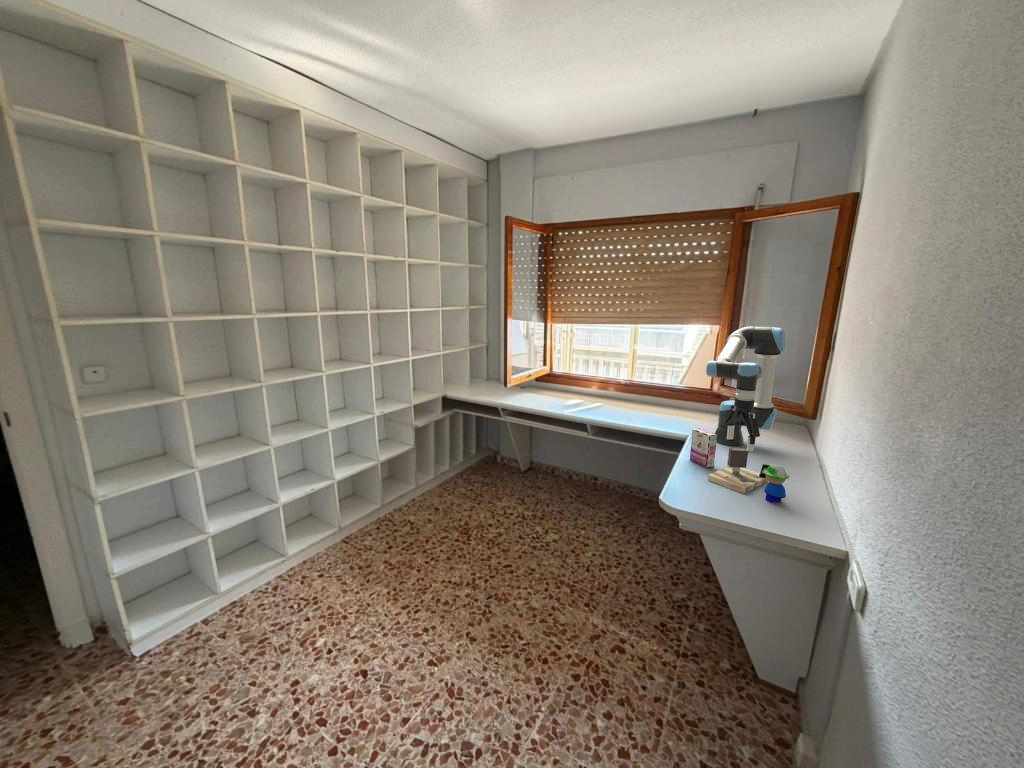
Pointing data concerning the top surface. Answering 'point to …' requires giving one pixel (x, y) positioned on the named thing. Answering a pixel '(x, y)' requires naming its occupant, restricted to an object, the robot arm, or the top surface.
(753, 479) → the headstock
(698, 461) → the candy bar box
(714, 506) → the top surface
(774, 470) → the toy
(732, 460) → the peg
